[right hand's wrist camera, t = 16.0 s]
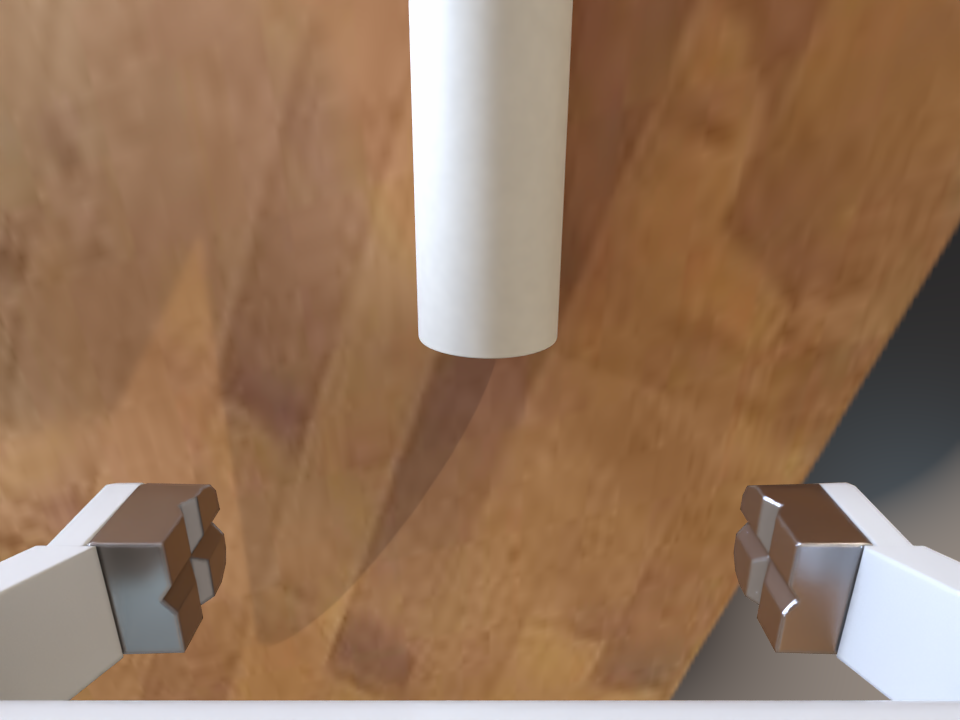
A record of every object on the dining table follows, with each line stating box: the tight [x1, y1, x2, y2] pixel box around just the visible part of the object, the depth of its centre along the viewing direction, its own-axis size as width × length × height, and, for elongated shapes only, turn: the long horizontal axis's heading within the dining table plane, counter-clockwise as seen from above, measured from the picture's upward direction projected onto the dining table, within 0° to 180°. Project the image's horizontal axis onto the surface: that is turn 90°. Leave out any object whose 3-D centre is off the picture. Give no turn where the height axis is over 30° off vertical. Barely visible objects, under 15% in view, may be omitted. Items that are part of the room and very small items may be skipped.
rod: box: [409, 0, 573, 359], centre depth 25 cm, size 26×6×6 cm, turn 0°
